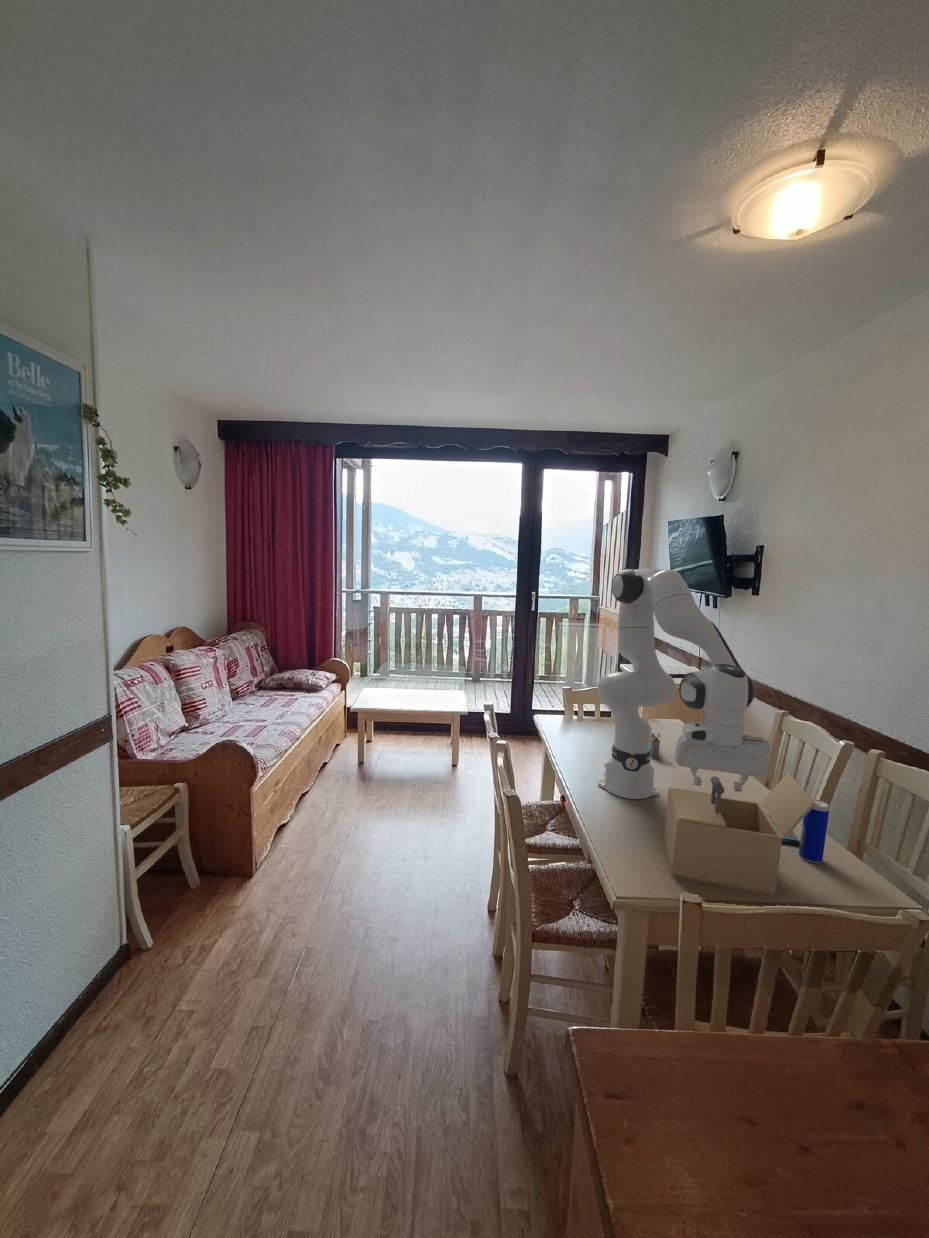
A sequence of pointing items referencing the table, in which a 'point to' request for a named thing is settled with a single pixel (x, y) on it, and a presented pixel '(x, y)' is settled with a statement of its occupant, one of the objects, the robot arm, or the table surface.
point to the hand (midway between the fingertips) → (717, 787)
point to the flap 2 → (787, 804)
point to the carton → (725, 848)
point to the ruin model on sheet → (655, 746)
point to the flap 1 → (699, 805)
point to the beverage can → (814, 832)
